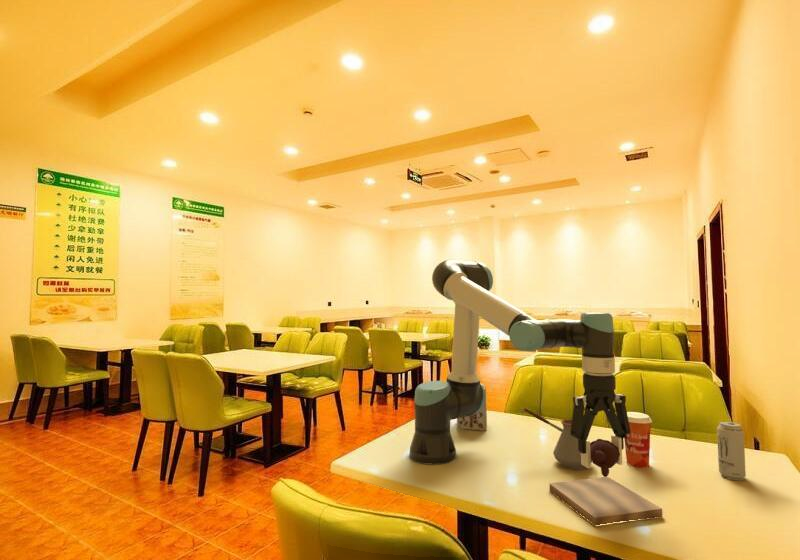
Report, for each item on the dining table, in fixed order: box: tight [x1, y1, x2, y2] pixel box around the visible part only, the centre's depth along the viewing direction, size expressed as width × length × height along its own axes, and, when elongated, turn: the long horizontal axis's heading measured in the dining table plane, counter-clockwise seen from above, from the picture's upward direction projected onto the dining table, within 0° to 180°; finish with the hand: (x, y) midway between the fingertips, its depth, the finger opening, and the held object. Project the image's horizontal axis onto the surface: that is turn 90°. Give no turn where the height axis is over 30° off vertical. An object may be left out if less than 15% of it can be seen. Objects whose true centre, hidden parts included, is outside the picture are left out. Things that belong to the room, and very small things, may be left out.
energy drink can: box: [716, 420, 747, 481], centre depth 119 cm, size 6×6×15 cm
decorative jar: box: [456, 385, 488, 432], centre depth 167 cm, size 12×12×18 cm
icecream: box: [590, 438, 620, 477], centre depth 103 cm, size 7×7×15 cm
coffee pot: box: [521, 408, 593, 470], centre depth 131 cm, size 21×12×15 cm, turn 54°
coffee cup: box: [623, 411, 653, 469], centre depth 128 cm, size 8×8×15 cm
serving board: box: [549, 476, 663, 526], centre depth 103 cm, size 18×18×2 cm
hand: (601, 464), depth 104 cm, fingers closed on icecream, 8 cm apart
